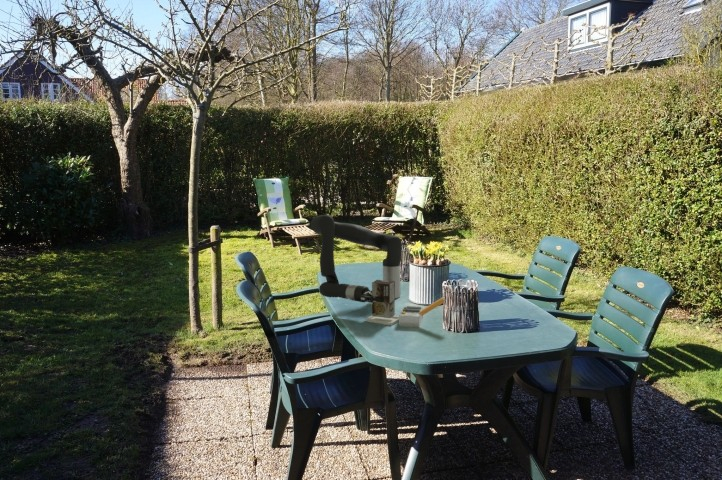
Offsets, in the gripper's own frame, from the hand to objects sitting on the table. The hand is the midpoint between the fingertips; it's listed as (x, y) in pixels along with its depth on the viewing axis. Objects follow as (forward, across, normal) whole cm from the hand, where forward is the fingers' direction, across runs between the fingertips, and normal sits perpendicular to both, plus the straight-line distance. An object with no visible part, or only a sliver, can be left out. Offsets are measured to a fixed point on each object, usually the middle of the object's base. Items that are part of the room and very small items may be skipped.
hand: (387, 298), depth 258 cm
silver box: (+10, +4, +11) cm, 15 cm away
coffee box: (-2, 0, +9) cm, 9 cm away
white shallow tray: (-2, 0, +11) cm, 11 cm away
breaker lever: (+15, +3, +6) cm, 17 cm away
